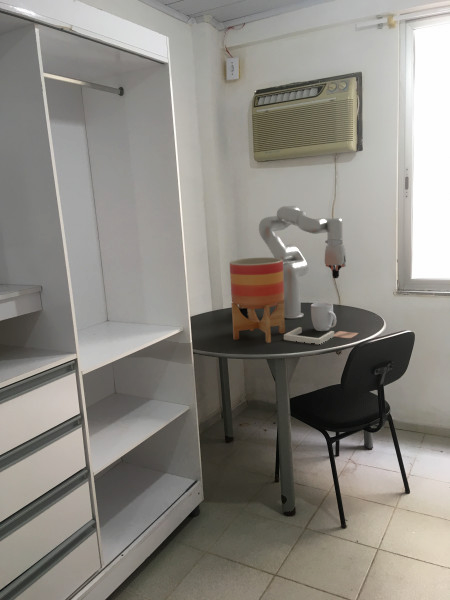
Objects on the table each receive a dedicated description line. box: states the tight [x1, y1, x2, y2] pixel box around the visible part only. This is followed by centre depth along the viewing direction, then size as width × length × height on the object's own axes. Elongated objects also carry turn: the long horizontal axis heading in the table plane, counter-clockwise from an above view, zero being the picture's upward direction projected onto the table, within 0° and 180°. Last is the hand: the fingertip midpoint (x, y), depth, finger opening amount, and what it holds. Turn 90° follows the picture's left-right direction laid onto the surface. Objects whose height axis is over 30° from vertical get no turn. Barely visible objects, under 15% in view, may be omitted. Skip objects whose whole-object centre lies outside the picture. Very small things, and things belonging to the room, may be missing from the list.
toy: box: [238, 306, 249, 319], centre depth 293 cm, size 12×7×30 cm
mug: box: [310, 302, 337, 332], centre depth 248 cm, size 15×11×13 cm
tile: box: [333, 330, 360, 339], centre depth 240 cm, size 10×10×1 cm
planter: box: [229, 256, 286, 344], centre depth 243 cm, size 27×27×38 cm
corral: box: [283, 326, 335, 345], centre depth 237 cm, size 19×16×2 cm
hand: (335, 277), depth 257 cm, fingers closed
